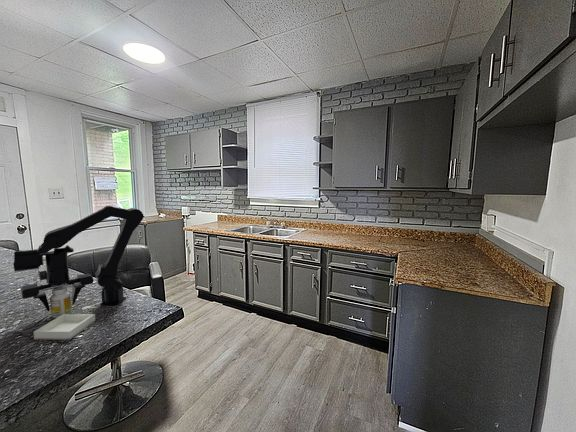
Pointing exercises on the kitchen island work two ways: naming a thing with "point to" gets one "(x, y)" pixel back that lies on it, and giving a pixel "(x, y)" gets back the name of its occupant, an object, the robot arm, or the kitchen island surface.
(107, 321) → the kitchen island surface
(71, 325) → the tray
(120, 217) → the robot arm
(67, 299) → the supplement bottle
